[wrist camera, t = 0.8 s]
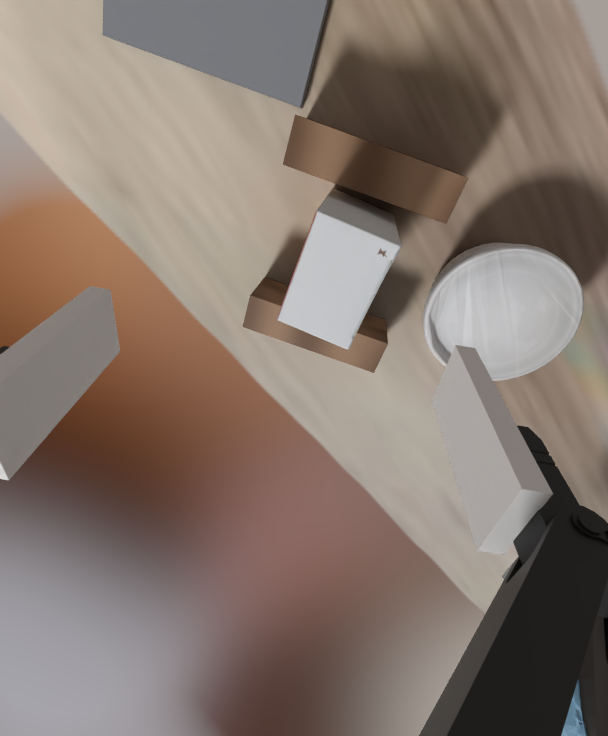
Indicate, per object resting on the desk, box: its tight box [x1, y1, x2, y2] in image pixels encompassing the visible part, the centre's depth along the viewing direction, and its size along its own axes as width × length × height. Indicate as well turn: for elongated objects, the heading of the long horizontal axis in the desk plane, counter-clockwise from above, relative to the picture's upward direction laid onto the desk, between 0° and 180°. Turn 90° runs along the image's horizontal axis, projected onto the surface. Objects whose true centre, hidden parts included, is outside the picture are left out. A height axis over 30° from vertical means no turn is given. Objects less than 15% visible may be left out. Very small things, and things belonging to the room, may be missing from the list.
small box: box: [277, 189, 401, 350], centre depth 29 cm, size 8×6×10 cm
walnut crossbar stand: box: [243, 115, 468, 373], centre depth 32 cm, size 12×16×5 cm
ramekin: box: [423, 242, 584, 381], centre depth 32 cm, size 11×11×5 cm
